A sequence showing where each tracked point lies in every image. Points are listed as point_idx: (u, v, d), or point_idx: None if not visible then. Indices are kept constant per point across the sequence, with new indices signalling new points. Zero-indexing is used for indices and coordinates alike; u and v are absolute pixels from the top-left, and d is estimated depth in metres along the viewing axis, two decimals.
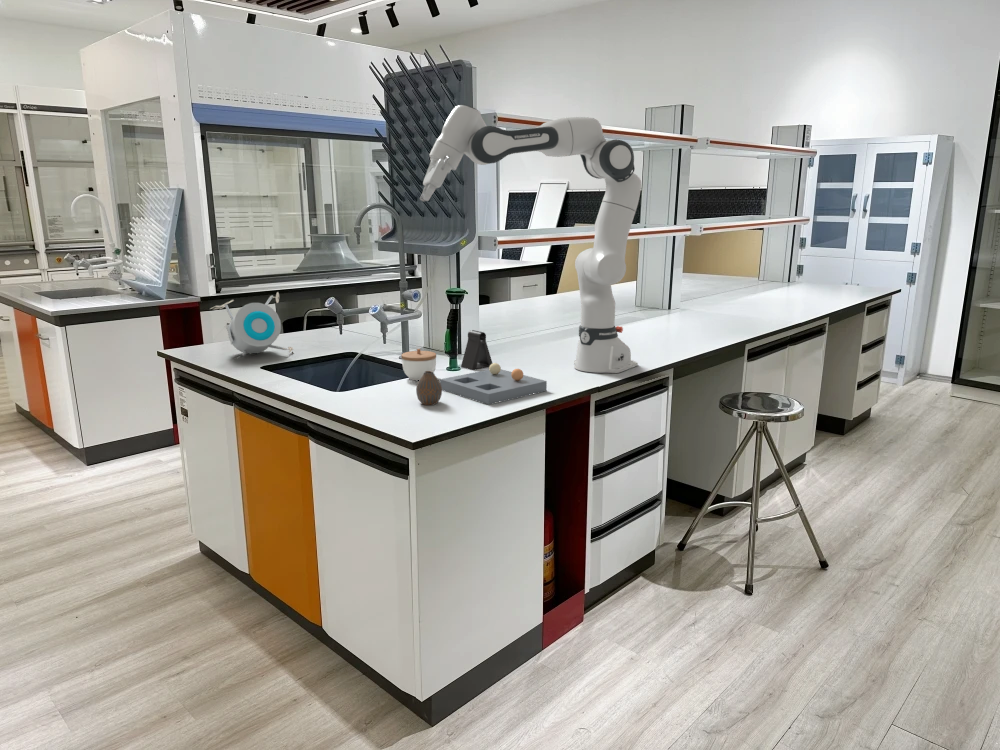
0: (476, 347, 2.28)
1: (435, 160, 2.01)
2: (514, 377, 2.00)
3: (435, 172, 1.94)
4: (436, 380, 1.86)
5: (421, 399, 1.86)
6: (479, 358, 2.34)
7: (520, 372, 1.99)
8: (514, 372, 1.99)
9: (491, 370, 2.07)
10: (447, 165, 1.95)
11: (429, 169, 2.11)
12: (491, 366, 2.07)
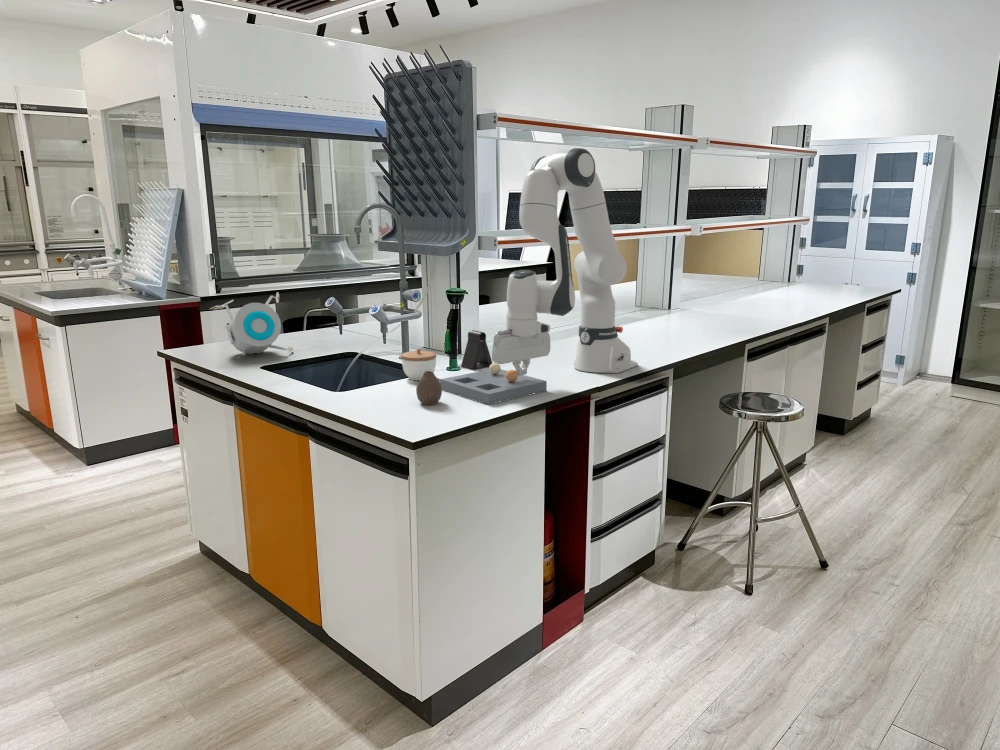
0: (476, 347, 2.28)
1: None
2: (512, 381, 1.99)
3: (492, 352, 1.95)
4: (436, 380, 1.86)
5: (421, 399, 1.86)
6: (479, 358, 2.34)
7: (512, 376, 1.98)
8: (508, 380, 1.99)
9: (491, 370, 2.07)
10: (499, 341, 1.93)
11: None
12: (491, 366, 2.07)
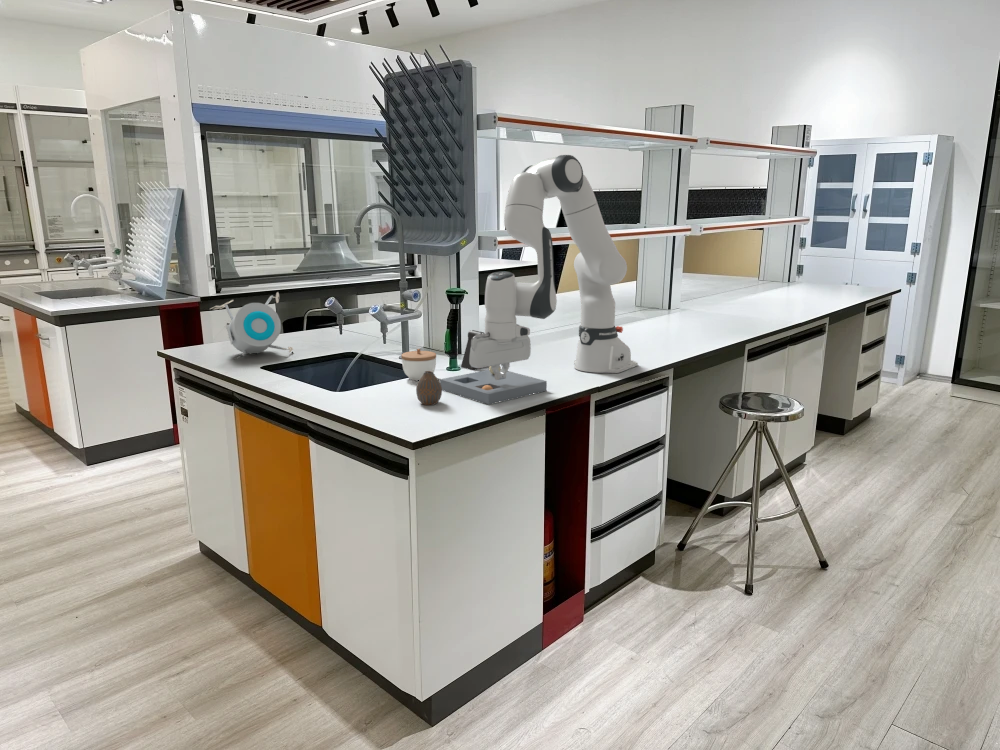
0: None
1: None
2: None
3: (470, 356, 1.90)
4: (436, 380, 1.86)
5: (421, 399, 1.86)
6: None
7: None
8: None
9: (491, 370, 2.07)
10: (477, 345, 1.88)
11: None
12: None
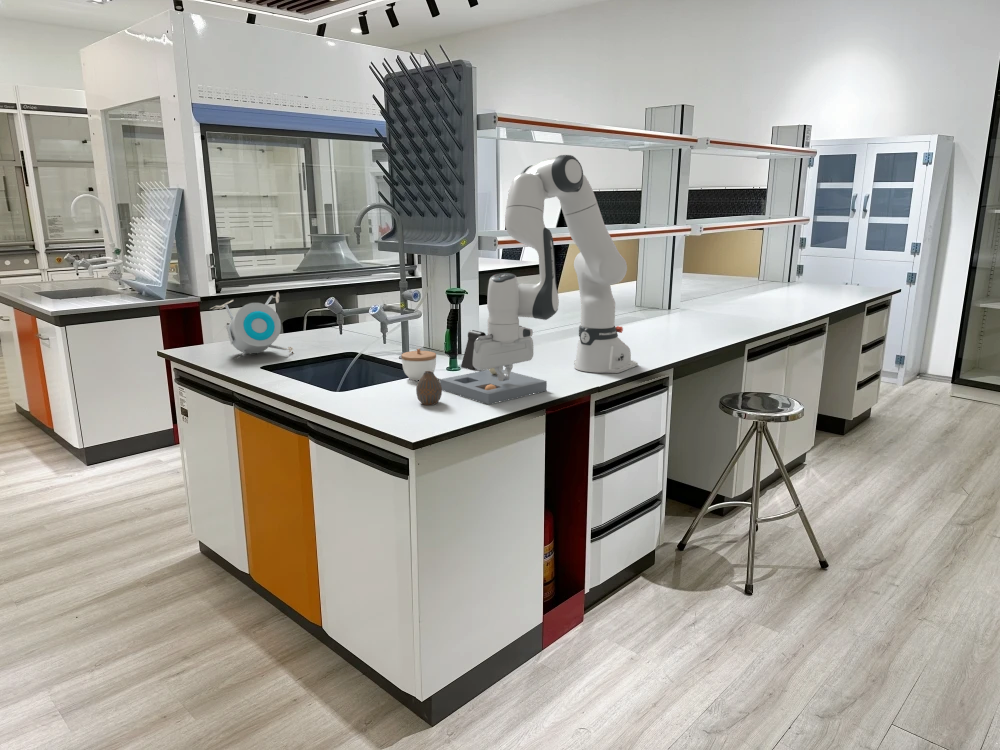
0: None
1: None
2: None
3: (473, 358, 1.90)
4: (436, 380, 1.86)
5: (421, 399, 1.86)
6: None
7: (493, 388, 1.94)
8: (487, 388, 1.94)
9: (491, 370, 2.07)
10: (480, 346, 1.88)
11: None
12: None
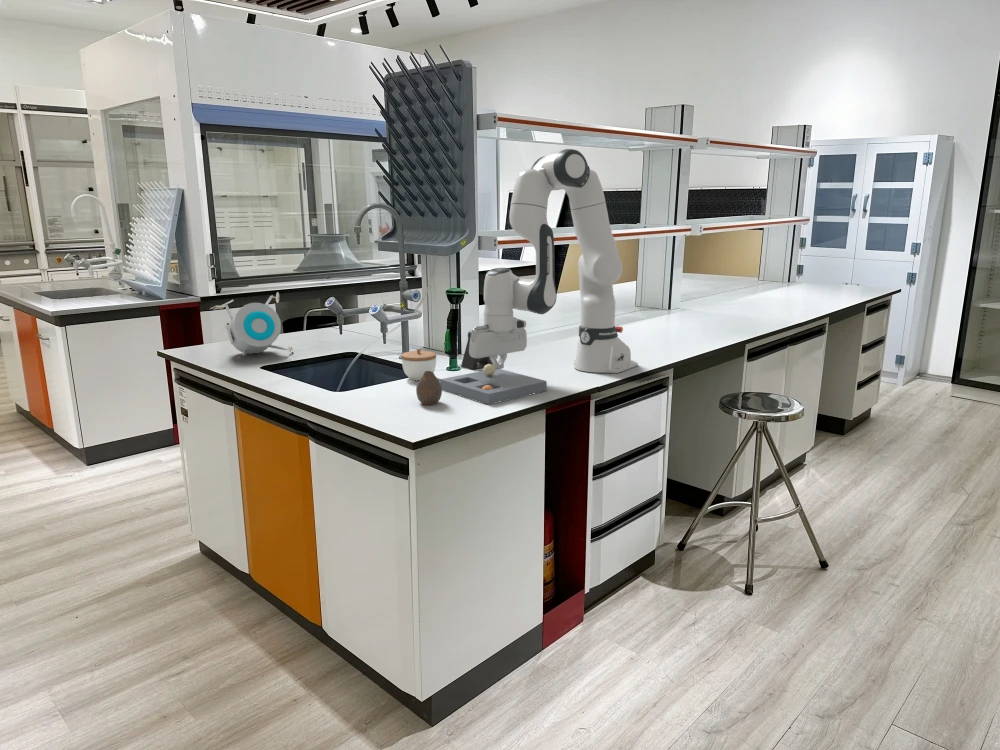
0: None
1: None
2: None
3: (469, 347, 2.02)
4: (436, 380, 1.86)
5: (421, 399, 1.86)
6: (479, 358, 2.34)
7: None
8: None
9: (489, 375, 2.07)
10: (476, 336, 2.00)
11: None
12: (485, 373, 2.06)
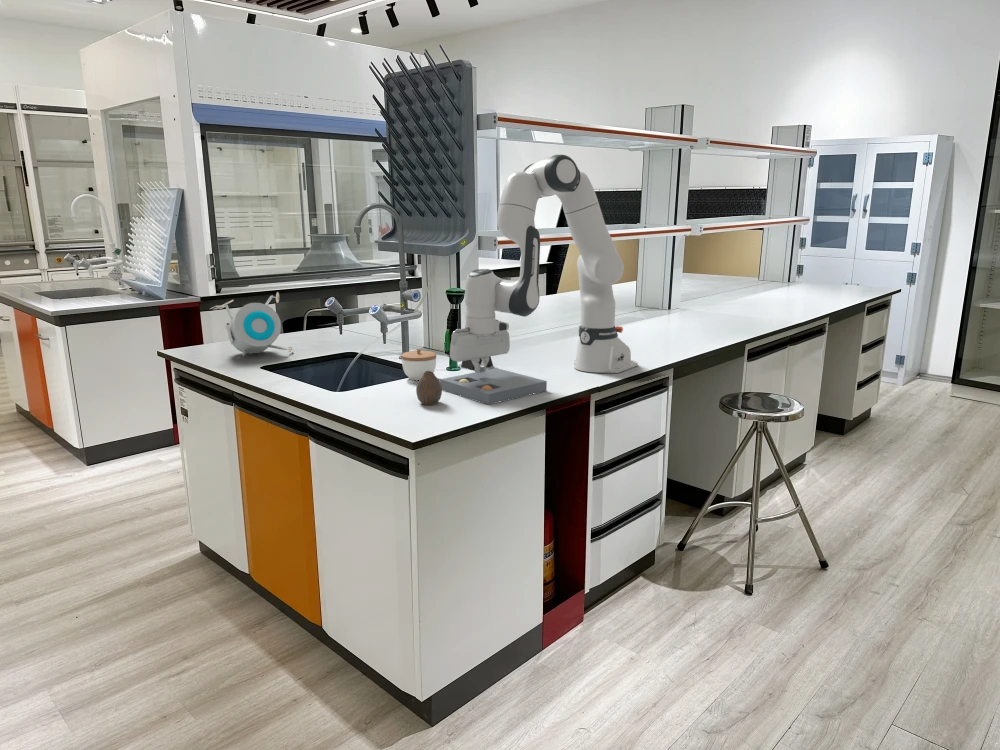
0: None
1: None
2: None
3: (450, 350, 1.98)
4: (436, 380, 1.86)
5: (421, 399, 1.86)
6: None
7: None
8: None
9: None
10: (457, 339, 1.96)
11: None
12: None
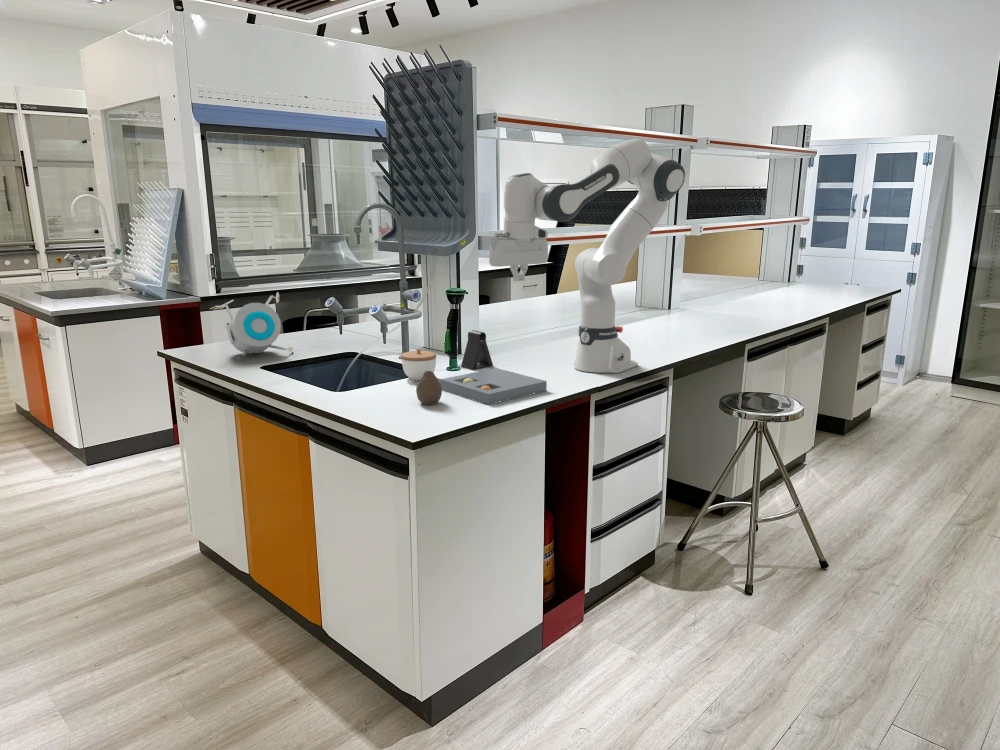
0: (476, 347, 2.28)
1: None
2: None
3: (489, 255, 1.94)
4: (436, 380, 1.86)
5: (421, 399, 1.86)
6: (479, 358, 2.34)
7: None
8: None
9: None
10: (496, 243, 1.92)
11: None
12: (464, 381, 2.01)
